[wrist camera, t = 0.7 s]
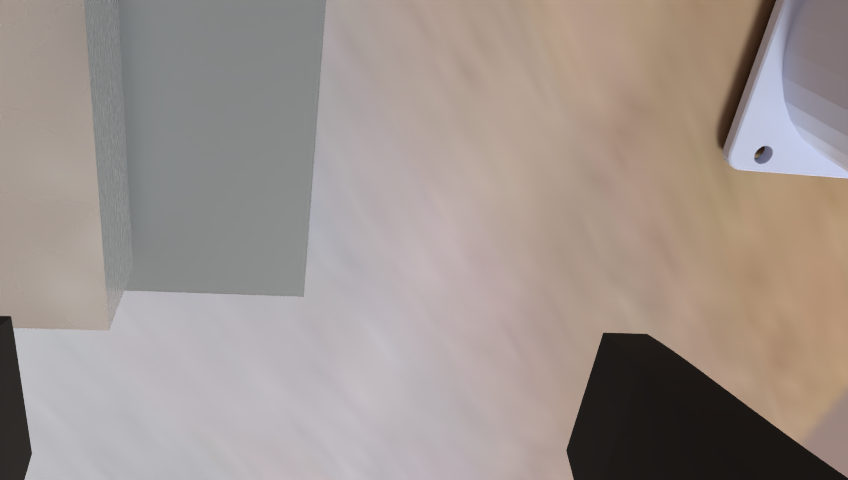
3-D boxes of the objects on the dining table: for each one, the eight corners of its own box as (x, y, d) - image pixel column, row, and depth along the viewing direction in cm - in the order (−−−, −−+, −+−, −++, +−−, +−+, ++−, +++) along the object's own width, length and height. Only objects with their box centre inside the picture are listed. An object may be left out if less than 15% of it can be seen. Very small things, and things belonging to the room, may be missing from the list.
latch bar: (-76, -385, 11) (-213, -461, 8) (132, -344, 12) (75, -401, 9) (15, 261, 17) (-47, 358, 14) (155, 267, 17) (124, 362, 14)
